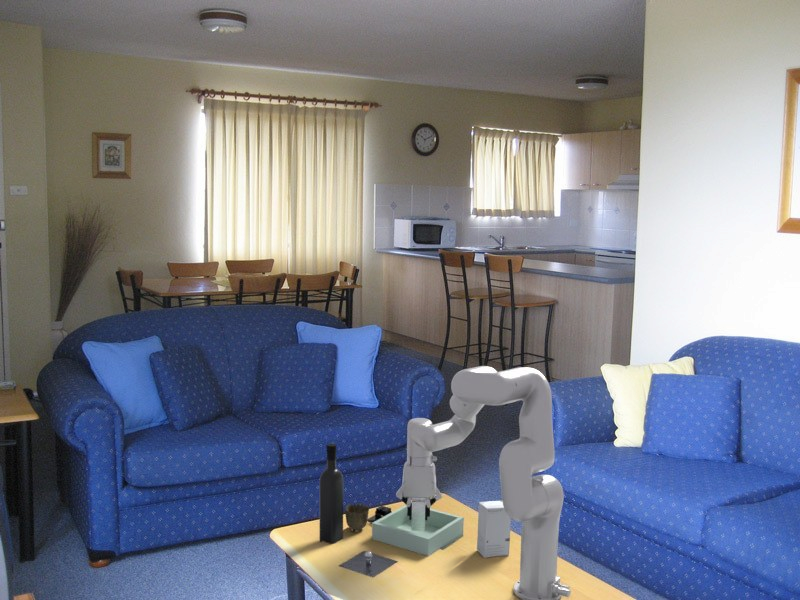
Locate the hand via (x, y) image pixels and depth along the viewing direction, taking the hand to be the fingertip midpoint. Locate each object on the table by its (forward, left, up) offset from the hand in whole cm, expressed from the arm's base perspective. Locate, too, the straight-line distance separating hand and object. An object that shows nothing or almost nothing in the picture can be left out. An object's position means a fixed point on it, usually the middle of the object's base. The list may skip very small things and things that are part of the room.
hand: (418, 517), depth 248 cm
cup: (+18, +7, -7) cm, 21 cm away
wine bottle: (+20, +17, -7) cm, 27 cm away
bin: (0, 0, -7) cm, 7 cm away
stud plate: (+1, +24, -7) cm, 25 cm away
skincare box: (-23, -5, -7) cm, 25 cm away
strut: (0, 0, -3) cm, 3 cm away
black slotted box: (+17, -5, -7) cm, 19 cm away
